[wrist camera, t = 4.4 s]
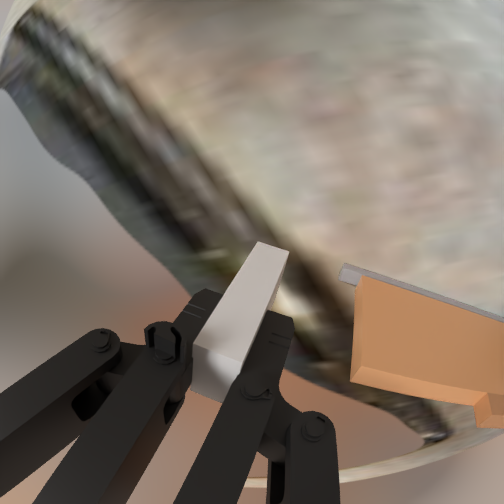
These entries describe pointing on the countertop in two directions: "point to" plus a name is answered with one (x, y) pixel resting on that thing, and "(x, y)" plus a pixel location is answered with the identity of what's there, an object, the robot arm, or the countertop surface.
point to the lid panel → (428, 349)
